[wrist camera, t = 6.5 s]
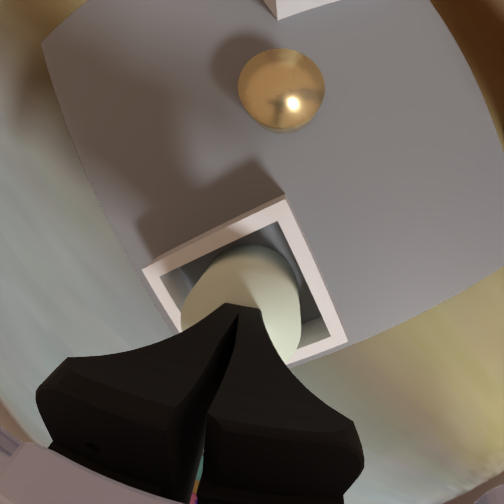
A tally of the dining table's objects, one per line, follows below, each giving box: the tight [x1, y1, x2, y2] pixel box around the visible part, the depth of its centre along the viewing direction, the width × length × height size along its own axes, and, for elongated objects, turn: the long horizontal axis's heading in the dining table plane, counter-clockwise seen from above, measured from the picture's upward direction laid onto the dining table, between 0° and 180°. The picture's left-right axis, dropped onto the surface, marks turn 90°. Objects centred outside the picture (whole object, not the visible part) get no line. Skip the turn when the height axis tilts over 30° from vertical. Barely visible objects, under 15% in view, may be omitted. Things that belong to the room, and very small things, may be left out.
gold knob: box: [238, 48, 325, 134], centre depth 10 cm, size 3×3×2 cm
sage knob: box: [181, 244, 301, 363], centre depth 12 cm, size 4×4×4 cm
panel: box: [41, 0, 504, 368], centre depth 11 cm, size 20×24×4 cm
